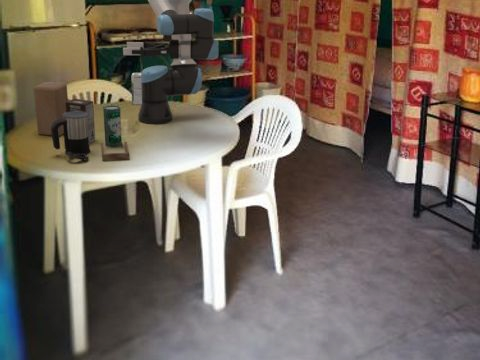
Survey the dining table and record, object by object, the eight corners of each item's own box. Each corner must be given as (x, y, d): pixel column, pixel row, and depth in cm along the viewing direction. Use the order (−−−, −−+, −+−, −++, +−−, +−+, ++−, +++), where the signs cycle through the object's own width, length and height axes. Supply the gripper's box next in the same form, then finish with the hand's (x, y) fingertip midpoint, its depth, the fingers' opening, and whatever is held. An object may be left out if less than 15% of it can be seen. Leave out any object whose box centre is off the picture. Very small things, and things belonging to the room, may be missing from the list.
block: (59, 136, 248) (55, 88, 240) (37, 134, 250) (32, 86, 242) (71, 130, 257) (67, 82, 250) (49, 128, 259) (44, 81, 251)
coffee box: (67, 141, 243) (64, 101, 237) (76, 137, 248) (73, 98, 242) (87, 144, 240) (84, 104, 234) (96, 139, 246) (93, 100, 240)
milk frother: (80, 146, 237) (77, 109, 232) (107, 155, 229) (105, 117, 223) (49, 155, 227) (45, 116, 221) (76, 165, 218) (73, 125, 213)
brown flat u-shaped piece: (126, 148, 237) (126, 141, 236) (129, 159, 225) (129, 153, 224) (101, 149, 235) (101, 143, 234) (102, 161, 223) (102, 154, 222)
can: (114, 148, 237) (112, 110, 231) (102, 145, 239) (100, 107, 234) (124, 144, 241) (123, 107, 236) (113, 141, 244) (111, 104, 239)
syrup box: (132, 101, 303) (131, 72, 298) (144, 101, 304) (144, 72, 298) (131, 104, 298) (130, 75, 293) (144, 104, 298) (143, 75, 293)
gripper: (178, 64, 233) (121, 64, 231) (180, 53, 256) (128, 52, 254) (178, 44, 230) (121, 43, 229) (180, 34, 253) (128, 34, 252)
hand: (125, 48), depth 241 cm, fingers open, 13 cm apart
